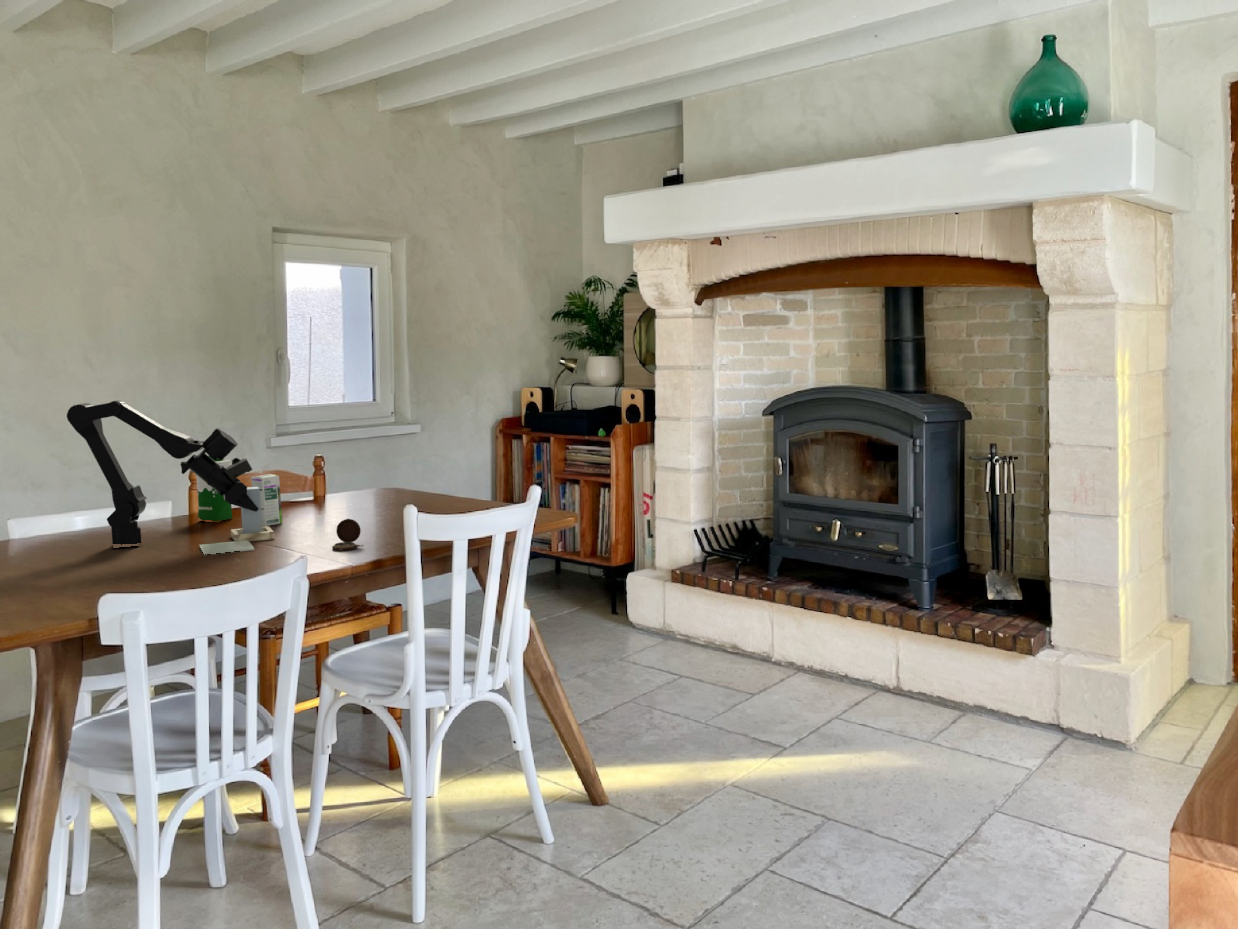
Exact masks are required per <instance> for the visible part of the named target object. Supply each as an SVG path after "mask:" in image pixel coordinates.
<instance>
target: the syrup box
mask: <svg viewBox="0 0 1238 929" xmlns="http://www.w3.org/2000/svg"><path fill="white" fill-rule="evenodd" d="M250 479H251V487H258V488H259V489H260V505H261V523H262V527H263V526H269V527H270V526H275V525H280V524H283V514H282V512H283V511H282V499H281V496H282V495H281V483H280V476H279V475H278V474H273V473H272V474H271V473H270V474H261V475H256V476H251V478H250Z"/></svg>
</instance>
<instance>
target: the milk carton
mask: <svg viewBox="0 0 1238 929" xmlns="http://www.w3.org/2000/svg"><path fill="white" fill-rule="evenodd" d="M208 456H209V455H208ZM209 457H210V456H209ZM210 458H211V459H213V458H212V457H210ZM213 460H214V461H215V462H216V463H218V464H219V465H220V466H223V467H224V468H227V467H229V466H230V465H231V463H232V460H229V459H228V460H227V459H223V460H221V459H219V458H218V459H217V460H215V459H213ZM195 476H196V487H197V488H196V490H197V504H198V505H197V509H198V511H197V514H198V515H197V519H198V518H200V519H202V520H212V521H220V520H226V519H230V518H233V517H234V516H233V508H232V504H231V505H230V504H229V503H228V502H227V501H225V500H224V497H223V496H222V495H220V494H219V493H218V492H217V491H216V490H215V489H213V488H212V487H211V486H209V485H208V484H207V483H206V482H205V481H203V480H202V479H201V478H200V477H199V476H197V475H196V474H195ZM230 520H231V519H230ZM226 521H227V520H226Z"/></svg>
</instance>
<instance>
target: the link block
mask: <svg viewBox="0 0 1238 929" xmlns="http://www.w3.org/2000/svg"><path fill="white" fill-rule="evenodd" d="M247 495H248V496H249V497H250V499H251V500H252V501H253V502H254V504H255V505H256V506H257V507H258V508H259V509H258V511H257V512H255V511H252V510H249V509H246V508H242V507H240V512H241V529H242V533H243V534H246V533H257V532H262V527H263V526H262V523H261V505H260V489H259V488H258V487H252V486H247Z"/></svg>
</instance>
